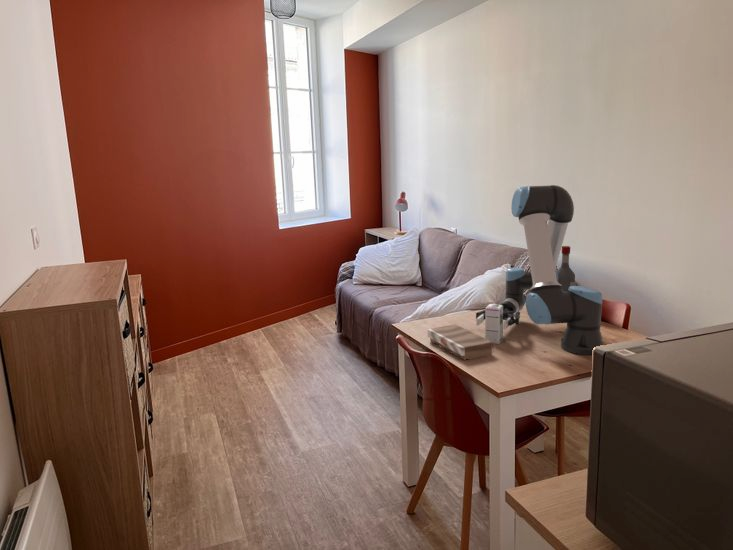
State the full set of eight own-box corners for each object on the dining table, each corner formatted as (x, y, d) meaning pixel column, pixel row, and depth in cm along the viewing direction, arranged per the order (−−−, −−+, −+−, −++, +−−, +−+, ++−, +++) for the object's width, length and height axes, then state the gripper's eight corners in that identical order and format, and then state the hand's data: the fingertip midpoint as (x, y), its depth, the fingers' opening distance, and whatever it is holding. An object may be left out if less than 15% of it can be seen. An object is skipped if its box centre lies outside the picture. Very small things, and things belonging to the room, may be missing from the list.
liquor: (573, 307, 253) (577, 245, 246) (572, 312, 244) (576, 248, 238) (553, 306, 256) (556, 244, 250) (551, 311, 248) (555, 247, 241)
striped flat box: (491, 354, 196) (492, 342, 195) (461, 361, 191) (461, 348, 190) (455, 336, 217) (455, 324, 216) (427, 341, 212) (426, 329, 211)
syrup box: (499, 344, 207) (500, 308, 204) (484, 342, 210) (485, 306, 206) (502, 339, 212) (503, 304, 209) (488, 337, 214) (488, 303, 211)
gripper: (534, 321, 219) (519, 337, 200) (481, 314, 230) (462, 329, 212) (535, 303, 217) (520, 318, 199) (481, 297, 229) (463, 311, 210)
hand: (490, 323), depth 205 cm, fingers open, 10 cm apart
